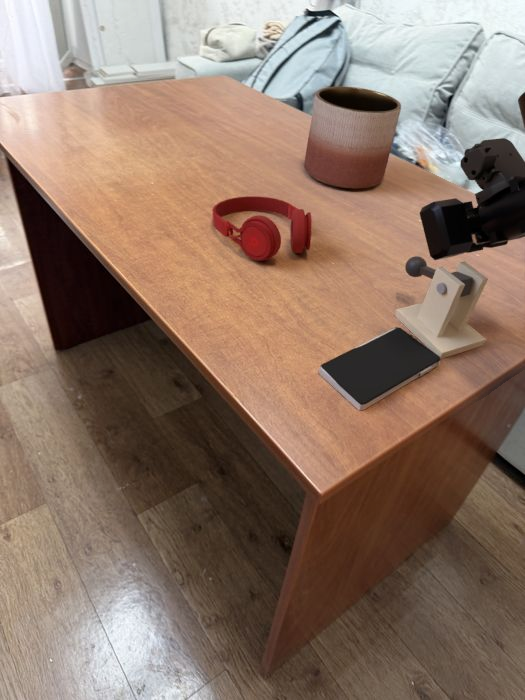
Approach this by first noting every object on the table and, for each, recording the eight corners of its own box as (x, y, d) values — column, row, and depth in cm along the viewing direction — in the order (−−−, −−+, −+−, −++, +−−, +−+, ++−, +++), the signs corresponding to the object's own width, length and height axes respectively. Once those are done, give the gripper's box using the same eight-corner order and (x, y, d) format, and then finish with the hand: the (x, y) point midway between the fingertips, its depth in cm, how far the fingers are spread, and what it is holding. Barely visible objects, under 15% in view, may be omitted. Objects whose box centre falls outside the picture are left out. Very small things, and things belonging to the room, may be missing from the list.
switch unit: (394, 315, 72) (414, 258, 65) (435, 304, 75) (458, 248, 68) (439, 359, 65) (466, 301, 59) (482, 345, 68) (513, 288, 62)
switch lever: (399, 275, 72) (402, 255, 71) (415, 271, 73) (418, 252, 72) (454, 300, 64) (458, 279, 62) (471, 296, 65) (476, 274, 63)
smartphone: (317, 365, 61) (397, 325, 68) (316, 372, 62) (395, 331, 69) (363, 406, 56) (443, 359, 64) (360, 413, 57) (440, 365, 64)
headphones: (327, 255, 82) (270, 216, 96) (331, 213, 77) (271, 180, 92) (248, 272, 76) (200, 228, 90) (248, 228, 72) (198, 189, 86)
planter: (368, 200, 100) (388, 119, 90) (290, 177, 105) (300, 98, 95) (391, 172, 112) (411, 98, 102) (321, 153, 117) (333, 80, 107)
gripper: (587, 118, 54) (478, 175, 69) (462, 128, 47) (370, 189, 62) (610, 215, 54) (496, 252, 69) (489, 240, 47) (391, 275, 62)
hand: (441, 240), depth 65 cm, fingers closed
